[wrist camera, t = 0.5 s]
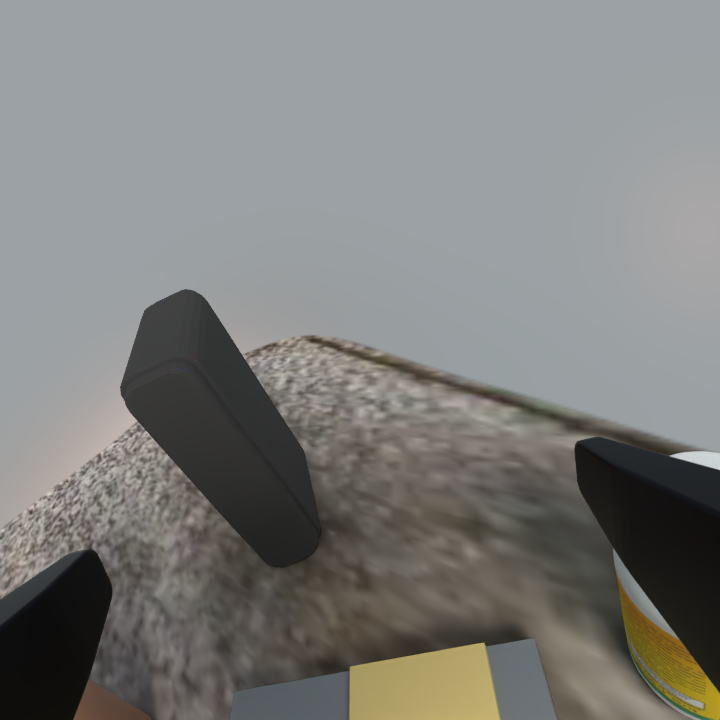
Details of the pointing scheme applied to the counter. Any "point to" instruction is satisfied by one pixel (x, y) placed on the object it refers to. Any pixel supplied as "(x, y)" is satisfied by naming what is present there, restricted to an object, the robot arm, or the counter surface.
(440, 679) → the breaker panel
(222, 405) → the card reader
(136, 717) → the orange and grey cylinder
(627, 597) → the supplement bottle
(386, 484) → the counter surface
